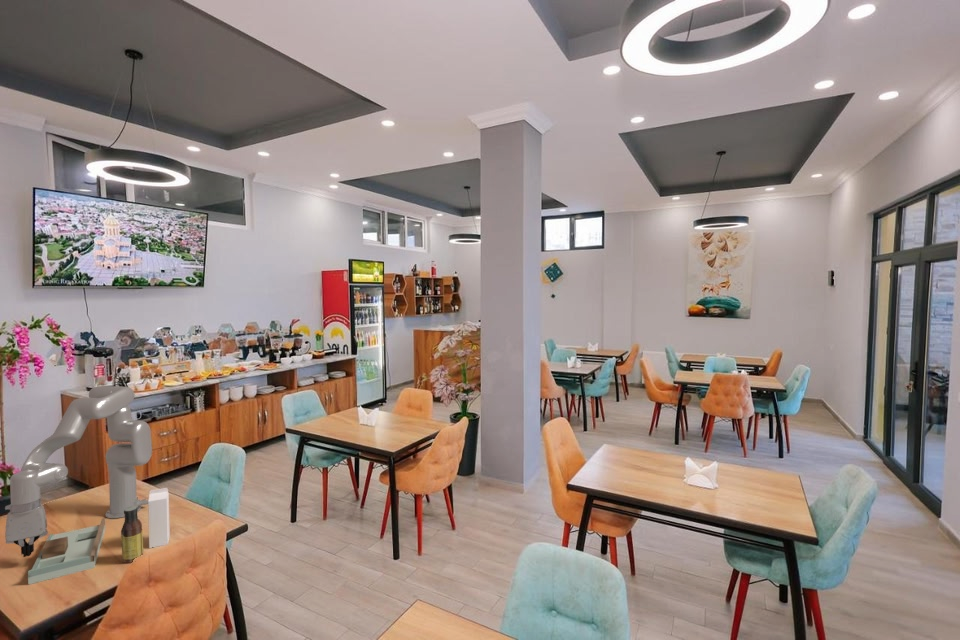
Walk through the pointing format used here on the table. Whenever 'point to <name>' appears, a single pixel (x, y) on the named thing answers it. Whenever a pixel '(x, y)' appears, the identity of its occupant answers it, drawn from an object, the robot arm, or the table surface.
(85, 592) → the table surface
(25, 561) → the table surface
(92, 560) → the board
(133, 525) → the sauce bottle
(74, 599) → the table surface
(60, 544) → the walnut block
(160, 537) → the milk
